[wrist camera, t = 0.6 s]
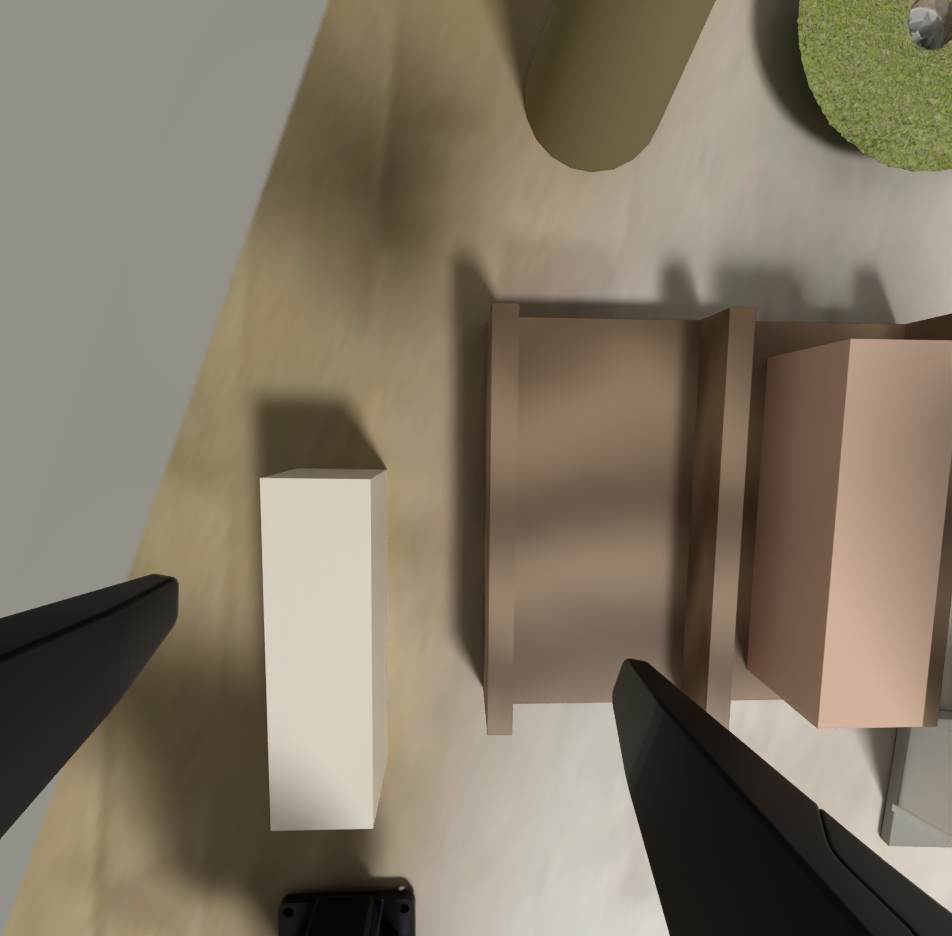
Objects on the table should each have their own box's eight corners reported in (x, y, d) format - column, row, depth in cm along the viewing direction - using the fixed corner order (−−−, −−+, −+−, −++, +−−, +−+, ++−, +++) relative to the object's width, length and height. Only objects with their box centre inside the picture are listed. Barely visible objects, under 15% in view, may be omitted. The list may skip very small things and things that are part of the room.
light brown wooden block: (831, 668, 20) (922, 726, 16) (746, 669, 20) (817, 728, 16) (857, 359, 19) (963, 340, 15) (767, 357, 19) (850, 338, 15)
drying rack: (866, 682, 22) (936, 726, 18) (483, 688, 21) (487, 735, 18) (899, 330, 20) (982, 312, 17) (487, 323, 19) (492, 302, 16)
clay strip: (388, 754, 21) (373, 828, 17) (305, 755, 21) (270, 830, 17) (388, 468, 20) (370, 479, 16) (299, 468, 20) (259, 478, 16)
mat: (1066, 40, 19) (1135, -4, 17) (898, 248, 20) (945, 229, 18) (885, -147, 18) (936, -215, 16) (713, 78, 19) (742, 38, 17)
